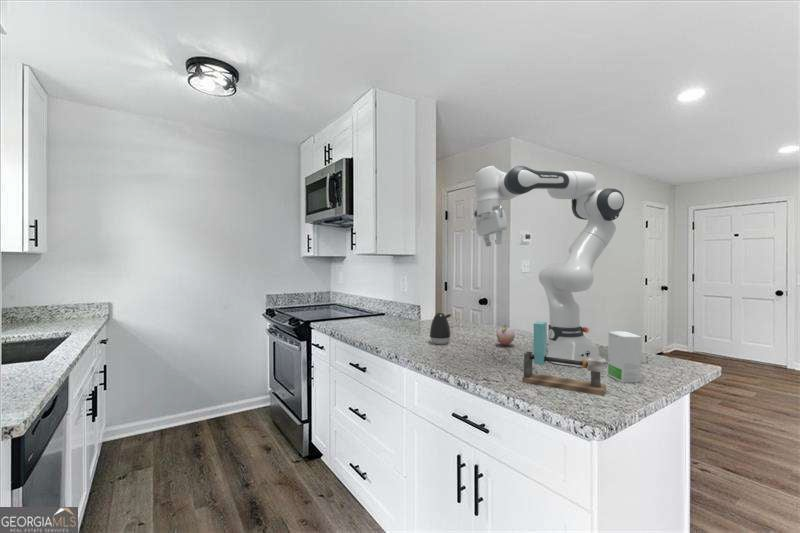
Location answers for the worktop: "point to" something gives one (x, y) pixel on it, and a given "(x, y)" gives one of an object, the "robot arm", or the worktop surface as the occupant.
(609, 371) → the skincare box
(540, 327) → the teal rectangular block
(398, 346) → the worktop surface
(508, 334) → the decorative fruit
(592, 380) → the wooden rod holder
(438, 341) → the pump dispenser
